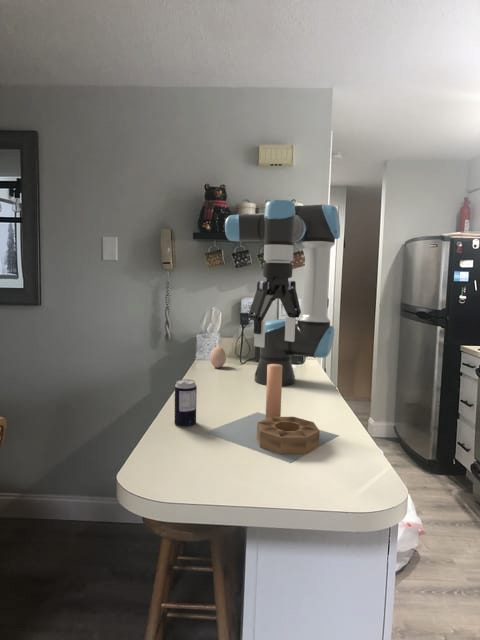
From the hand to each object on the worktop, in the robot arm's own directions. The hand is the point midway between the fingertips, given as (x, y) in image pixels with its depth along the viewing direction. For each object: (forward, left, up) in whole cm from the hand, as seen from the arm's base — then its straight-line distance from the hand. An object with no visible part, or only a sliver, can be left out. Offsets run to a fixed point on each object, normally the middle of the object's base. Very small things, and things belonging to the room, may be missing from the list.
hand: (275, 343), depth 117 cm
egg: (-41, -58, -23) cm, 75 cm away
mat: (+6, +4, -22) cm, 23 cm away
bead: (+8, +10, -22) cm, 25 cm away
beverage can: (+16, -17, -23) cm, 32 cm away
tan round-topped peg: (0, 0, -22) cm, 22 cm away
